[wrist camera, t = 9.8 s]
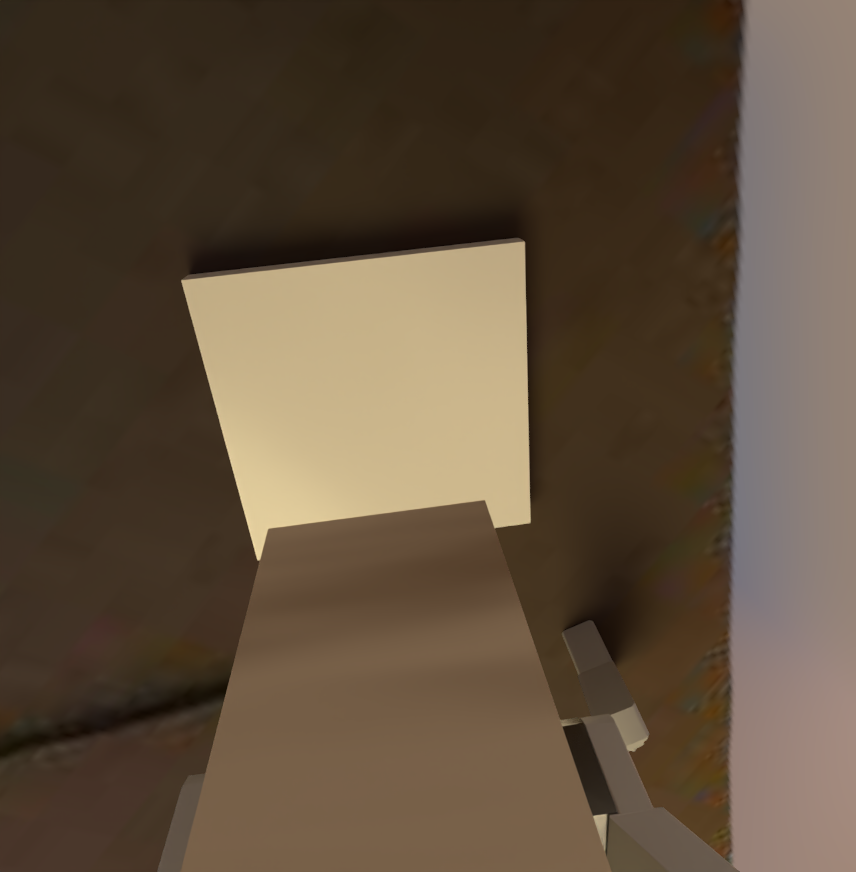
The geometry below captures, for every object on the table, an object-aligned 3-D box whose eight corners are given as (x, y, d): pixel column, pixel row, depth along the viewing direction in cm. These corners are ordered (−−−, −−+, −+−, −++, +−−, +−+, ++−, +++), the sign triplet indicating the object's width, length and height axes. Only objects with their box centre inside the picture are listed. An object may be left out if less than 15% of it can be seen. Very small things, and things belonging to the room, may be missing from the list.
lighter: (615, 669, 32) (687, 817, 25) (585, 681, 33) (648, 831, 25) (573, 578, 29) (642, 717, 22) (541, 592, 30) (598, 735, 22)
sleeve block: (262, 529, 11) (122, 1049, 5) (490, 499, 11) (656, 961, 5) (327, 776, 14) (296, 1291, 8) (504, 749, 14) (615, 1231, 8)
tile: (261, 546, 27) (257, 560, 26) (188, 274, 21) (181, 280, 20) (524, 510, 27) (530, 522, 26) (518, 237, 22) (524, 241, 21)
